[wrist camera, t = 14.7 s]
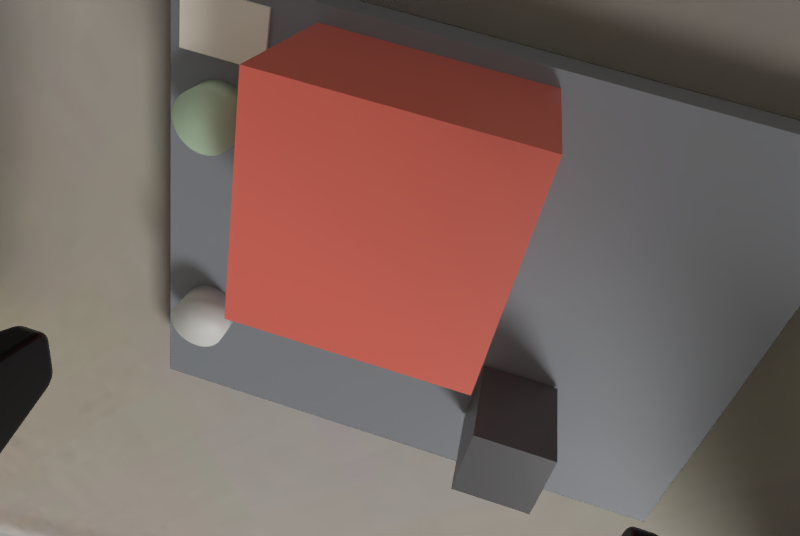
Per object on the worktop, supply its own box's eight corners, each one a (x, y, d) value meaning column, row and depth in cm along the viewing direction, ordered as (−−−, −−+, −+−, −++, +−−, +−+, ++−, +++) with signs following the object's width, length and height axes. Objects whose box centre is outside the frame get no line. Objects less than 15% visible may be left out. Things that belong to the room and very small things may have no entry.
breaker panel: (875, 140, 15) (924, 180, 13) (638, 487, 23) (647, 546, 21) (200, -43, 16) (148, -35, 14) (190, 343, 24) (155, 386, 22)
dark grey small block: (557, 388, 19) (557, 462, 17) (532, 439, 21) (529, 514, 18) (484, 365, 20) (473, 435, 17) (464, 417, 21) (451, 488, 18)
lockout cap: (561, 88, 15) (562, 154, 11) (488, 291, 18) (471, 395, 14) (317, 22, 15) (239, 64, 11) (291, 233, 19) (224, 318, 15)
